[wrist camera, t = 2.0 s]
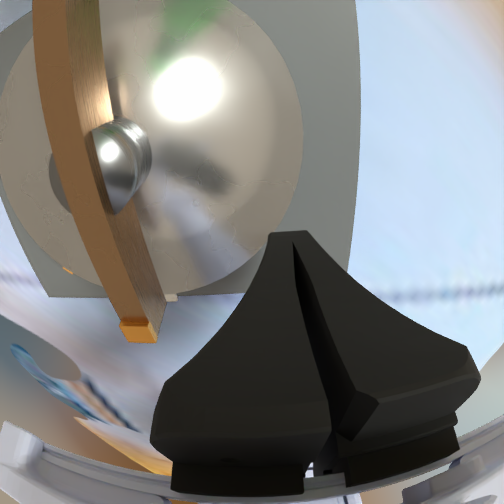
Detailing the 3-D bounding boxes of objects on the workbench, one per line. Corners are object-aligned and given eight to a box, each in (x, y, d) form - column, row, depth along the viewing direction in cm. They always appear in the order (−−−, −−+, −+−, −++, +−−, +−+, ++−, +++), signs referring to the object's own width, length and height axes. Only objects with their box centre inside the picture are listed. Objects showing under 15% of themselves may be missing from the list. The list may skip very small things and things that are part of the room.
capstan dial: (298, 269, 13) (311, 337, 10) (63, 281, 14) (33, 333, 11) (284, -36, 6) (302, -84, 3) (-5, 60, 6) (-66, 76, 3)
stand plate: (338, 269, 16) (345, 290, 14) (59, 284, 16) (49, 301, 15) (336, -44, 6) (347, -57, 5) (-11, 53, 7) (-31, 57, 6)
